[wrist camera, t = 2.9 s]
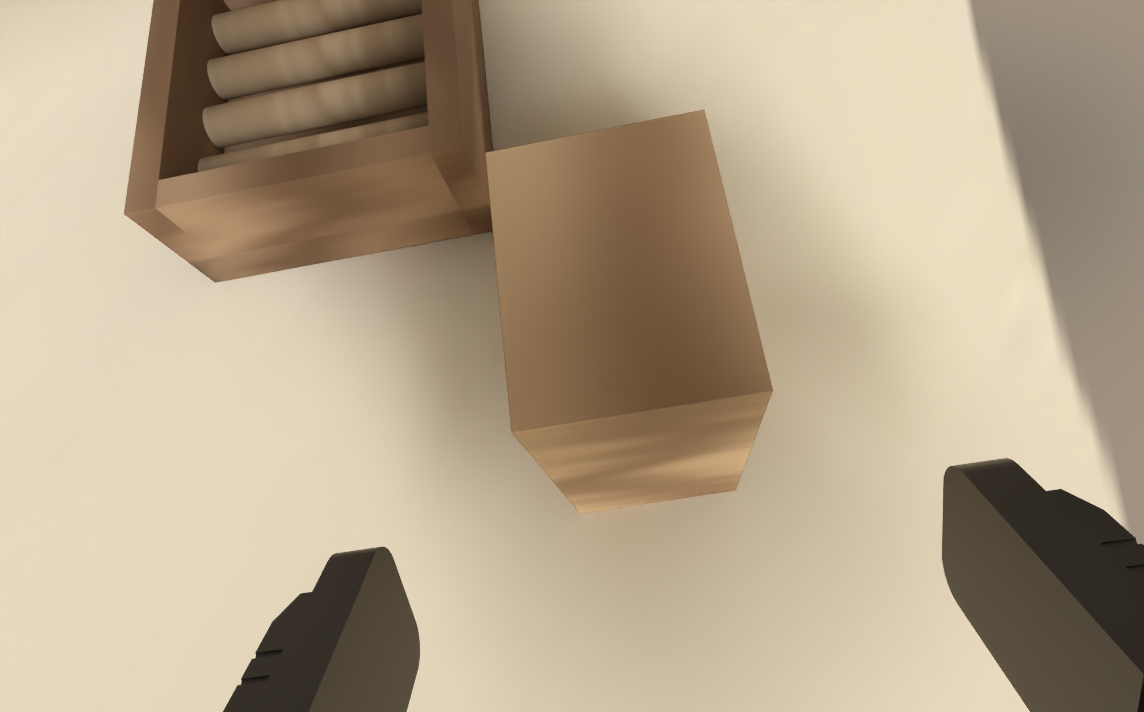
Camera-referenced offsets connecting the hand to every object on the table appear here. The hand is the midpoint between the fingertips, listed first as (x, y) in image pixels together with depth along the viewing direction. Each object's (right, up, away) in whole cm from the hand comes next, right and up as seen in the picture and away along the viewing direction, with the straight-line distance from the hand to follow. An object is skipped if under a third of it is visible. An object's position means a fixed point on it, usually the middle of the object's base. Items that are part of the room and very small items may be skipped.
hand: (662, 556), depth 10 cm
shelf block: (+1, +1, +11) cm, 11 cm away
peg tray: (-10, +12, +17) cm, 23 cm away
